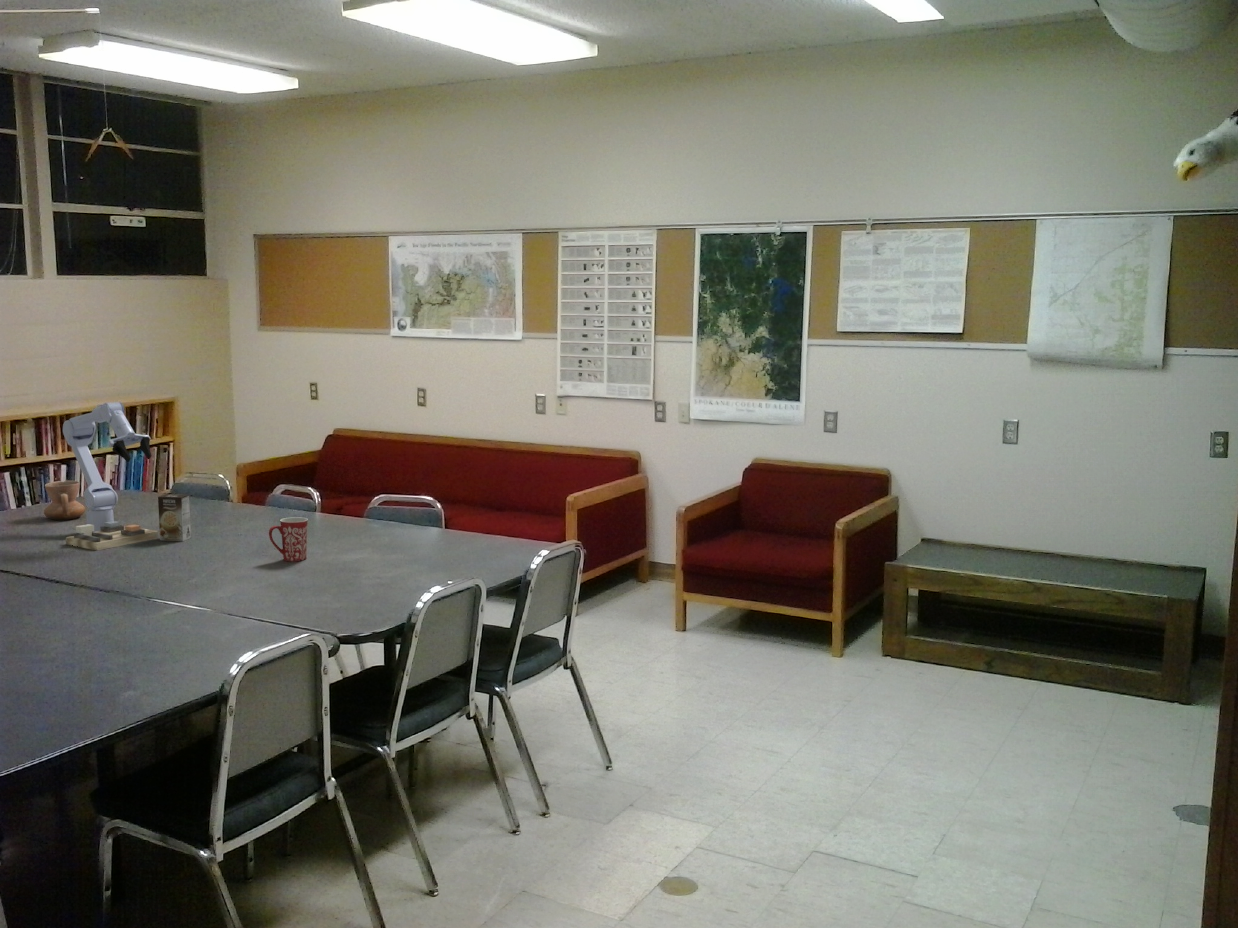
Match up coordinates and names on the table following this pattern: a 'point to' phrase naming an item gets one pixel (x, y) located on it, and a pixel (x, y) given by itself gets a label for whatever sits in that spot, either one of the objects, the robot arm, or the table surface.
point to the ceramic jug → (63, 500)
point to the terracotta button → (132, 527)
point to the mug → (292, 538)
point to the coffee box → (174, 517)
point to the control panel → (110, 538)
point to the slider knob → (85, 529)
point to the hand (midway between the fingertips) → (139, 458)
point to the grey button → (112, 524)
